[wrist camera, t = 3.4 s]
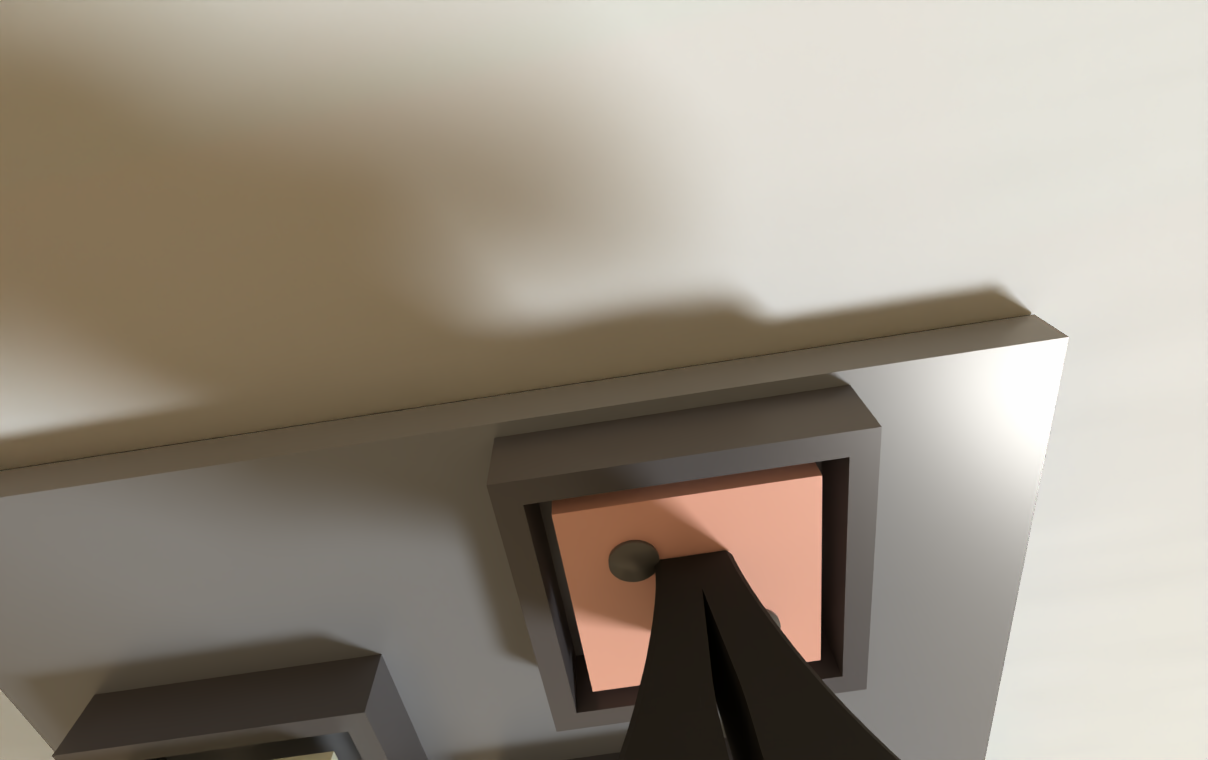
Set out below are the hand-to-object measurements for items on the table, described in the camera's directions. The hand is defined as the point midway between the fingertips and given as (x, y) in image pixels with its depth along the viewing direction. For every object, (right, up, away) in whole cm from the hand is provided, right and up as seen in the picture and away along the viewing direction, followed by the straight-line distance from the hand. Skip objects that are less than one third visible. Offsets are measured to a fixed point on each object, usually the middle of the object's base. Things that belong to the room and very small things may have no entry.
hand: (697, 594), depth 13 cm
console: (-3, -4, +5) cm, 7 cm away
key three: (0, +1, +1) cm, 1 cm away
